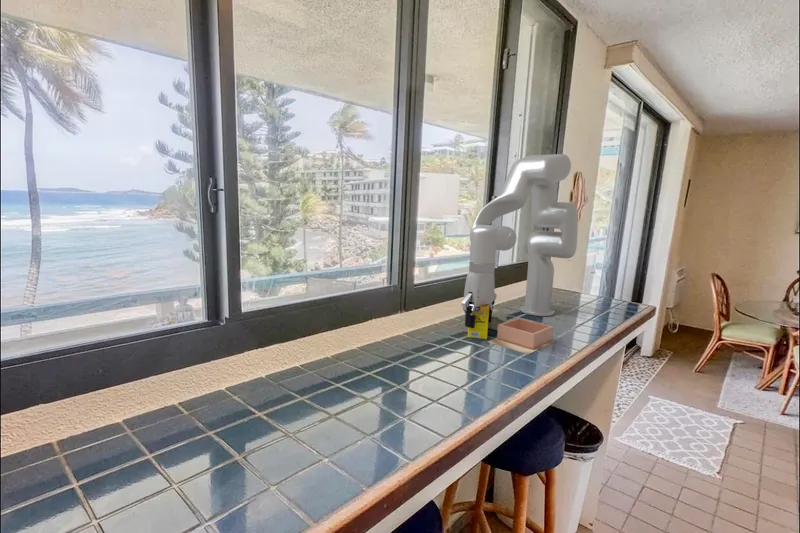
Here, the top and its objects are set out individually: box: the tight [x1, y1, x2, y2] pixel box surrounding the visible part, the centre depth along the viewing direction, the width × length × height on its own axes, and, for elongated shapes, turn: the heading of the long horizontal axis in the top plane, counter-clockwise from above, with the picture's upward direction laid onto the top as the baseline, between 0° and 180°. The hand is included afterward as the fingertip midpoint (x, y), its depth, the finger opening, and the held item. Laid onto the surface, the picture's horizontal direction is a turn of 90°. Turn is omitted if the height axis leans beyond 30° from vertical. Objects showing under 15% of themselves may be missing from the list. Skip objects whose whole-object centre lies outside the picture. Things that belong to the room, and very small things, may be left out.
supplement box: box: [467, 303, 489, 340], centre depth 124 cm, size 6×6×11 cm
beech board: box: [487, 337, 555, 355], centre depth 120 cm, size 16×13×1 cm
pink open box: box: [496, 317, 554, 350], centre depth 121 cm, size 12×12×4 cm
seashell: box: [488, 308, 508, 332], centre depth 133 cm, size 13×8×10 cm
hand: (478, 324), depth 125 cm, fingers closed on supplement box, 8 cm apart
